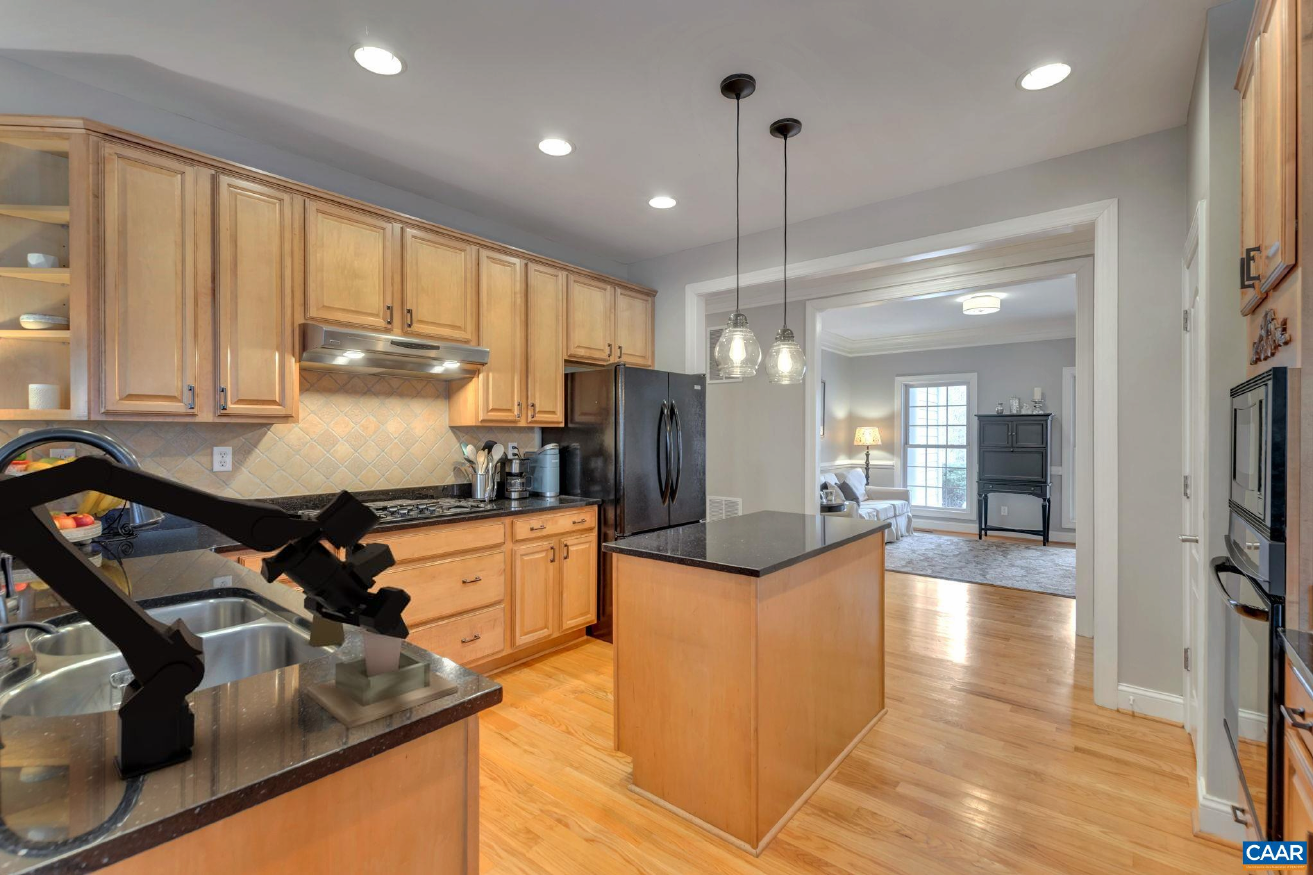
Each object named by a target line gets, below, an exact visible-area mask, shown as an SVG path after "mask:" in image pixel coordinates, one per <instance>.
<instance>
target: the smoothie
mask: <svg viewBox="0 0 1313 875" xmlns="http://www.w3.org/2000/svg"><path fill="white" fill-rule="evenodd" d="M403 620H404V623H405V624H406V619H403ZM366 630H367V629H365V628H364V627H362V626H360V627H359V634H360V635H361V636H362V643H363V652H364V657H365V660H366V668H367V675H368V678H370V677H373V676H377V675H380V674H384V673H387V672H391V671H394V670H398V665H399V658H400V650H401V648H402V641H403V639H400V638H395V637H390V636H385V635H379V634H375V633H371V632H368V631H366Z"/></svg>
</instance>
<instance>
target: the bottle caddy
mask: <svg viewBox="0 0 1313 875" xmlns="http://www.w3.org/2000/svg"><path fill="white" fill-rule="evenodd" d="M334 678H335V679H332V680H329V681H325V682H321V683H318V684H313V685H310V686H307V687H306V695H307V696H308V697H309V698H311V699H312V700H314V701H315V703H317V704H318V705H319V706H321V707H322V708H323V709H325V710H326V711H327V712H328V713H329V714H331V715H332V716H333V717H334V718H335V719H337V720H338V721H339V722H341V723H342V724H343V725H344V726H346V728H348V729H352V728H355V727H358V726H361V725H363V724H367V723H370V722H372V721H376V720H378V719H382V718H384V717H387V716H390V715H393V714H396V713H399V712H402V711H405V710H408V709H411V708H415V707H416V706H420V705H422V704H426V703H429V702H431V701H434V700H438V699H440V698H443V697H446V696H449V695H453V694H455V693H458V692H459V684H457V683H455V682H453V681H452V680H451V681H450V680H449V679H448V678H445V677H443V676H442V675H440V674H438V673H436V672H434V671H432V670H431V662H429V661H427V660H425V659H424V658H421V657H420V656H418V655H416V654H414V653H412V652H410V651H408V650H406V649H404V648H402V647H401V650H400V658H399V665H398V670H394V671H391V672H387V673H384V674H380V675H377V676H373V677H370V678H368V675H367V668H366V660H365V656H362V657H361V656H360V657H356V658H354V659H349V660H345V661H341V662H339V663H338V662H337V663H335V677H334Z"/></svg>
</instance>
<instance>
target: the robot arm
mask: <svg viewBox="0 0 1313 875" xmlns="http://www.w3.org/2000/svg"><path fill="white" fill-rule="evenodd" d="M87 491H89V492H90V491H92V492H96V493H99V494H103V495H106V496H110V497H112V498H113V497H114V498H115V499H120V500H124V501H127V502H129V503H132V504H136V505H138V506H139V505H140V506H143V507H146V508H150V509H152V510H155V511H158V512H162V513H165V514H169V515H172V516H175V517H179V518H182V519H186V520H188V521H191V522H195V523H199V524H201V525H203V526H204V525H205V526H206V527H208V528H210V529H212V530H214V531H217V532H218V533H220V534H222V535H223V536H225V537H227V538H229V539H230V540H232V541H235V542H236V543H238V544H241V545H243V546H244V547H246V548H249V549H250V550H253V551H255V552H257V553H258V552H259V553H271V552H274V551H277V550H279V551H278V552H276V553H275V554H273V555H272V556H267V557H262V558H261V559H260V560H261V569H260V570H259V571H260V573H259V574H260V575H261V576H262V578H263V579H264V580H265V582H267V583H268V584H273V583H274V582H275V581H276V580H277V579H279V577H281V576H282V575H285V576H286V577H287V578H289V579H290V580H291V581H293V583H295V584H296V585H297V586H298V587H300V588H301V589H303V590H302V592H301V593H302V594H303V595H305V597H304V598H303V609H304V610H306V611H307V612H309V613H310V614H311V615H316V616H320V617H322V618H324V619H328V620H331V621H335V622H340V623H343V625H350V626H354V627H358V628H360V626H362V627H364V628H365V629H367V630H366V631H368V632H371V633H375V634H379V635H385V636H390V637H395V638H400V639H402V640H406V639H407V638H408V636H409V635H410V630H409V629H408V627H407V625H406V622H405V623H404V620H405V619H404V618H403V617H402V613H403V612H404V610H405V609H406V608H407V606H408V605H409V604H410V602H411V601H412V596H411V595H410V594H409V593H408V592H406V591H405V590H404V589H403V588H399V587H394V586H389V585H387V586H382V587H380V588H379V589H378V590H377V592H371V591H369V590H370V589H372V588H373V587H374V586H375V585H376V583H377V581H376V580H375V579H374V578H375V577H377V576H379V575H380V574H382V573H383V572H385V571H386V570H387V569H388V568H392V567H394V566H395V565H396V564H397V561H396V559H395V556H394V555H393V553H392V552H393V551H392V550H391V548H390V546H389V544H386V543H381V542H367V543H365V544H363V543H361V542H360V541H361V540H362V539H363V538H364V537H365V536H366V535H367V534H369V532H371V531H372V530H373V529H374V528H375V527H376V526H377V525H378V524H380V523H381V521H382V520H381V518H380V517H379V516H378V515H377V513H375V511H373V510H372V509H371V508H370V507H369V506H368V505H366V504H364V503H362V502H361V501H360V500H359V499H357V498H356V497H355V496H354V495H352V494H351V493H350V492H349V491H348V490H346V489H341V490H340V491H339V492H338V493H337V494H336V495H335V496H334V497H333V498H332V500H331V501H330V502H328V503H327V504H326V505H325V506H324V507H322V509H320V511H318V512H317V513H316V514H315V515H313V516H312V515H309V514H306V513H302V514H301V513H298V514H297V513H290V512H289V513H288V512H286V511H285V510H284V509H283V508H281V507H280V506H278V505H276V504H273V503H267V502H262V501H256V500H249V499H243V498H236V497H228V496H223V495H218V494H215V493H212V492H208V491H206V490H203V489H199V488H197V487H193V486H190V485H188V484H184V483H182V482H181V483H180V482H179V481H175V480H171V479H169V478H166V477H163V476H161V475H158V474H155V473H152V472H148V471H145V470H143V469H139V468H135V467H133V466H130V465H127V464H124V463H120V462H118V461H115V460H114V459H112V458H111V457H109V456H107V455H105V454H98V453H97V454H86V455H82V456H80V457H77V458H76V459H74V460H72V461H68V462H65V463H60V464H58V465H54V466H51V467H47V468H43V469H39V470H36V471H33V472H29V473H24V474H21V475H18V476H17V475H16V474H10V473H9V474H7V473H0V552H1V553H3V554H6V555H8V556H11V557H12V558H15V559H16V560H18V561H19V562H20V563H22V564H23V565H24V567H26V568H27V569H28V570H30V571H31V572H32V573H33V574H34V575H35V576H36V577H37V578H38V579H40V581H42V582H43V583H44V584H46V585H47V586H48V587H49V588H50V589H51V590H52V591H53V592H55V593H56V595H58V597H60V598H61V599H62V600H64V601H65V602H66V603H67V604H68V605H69V606H71V607H72V608H73V609H74V610H75V611H76V612H77V613H78V614H80V615H81V616H82V617H83V618H84V619H85V620H87V622H88V623H90V624H91V625H92V626H93V627H94V628H95V629H97V630H98V632H99V633H101V634H102V635H103V636H104V637H106V638H107V639H108V640H109V641H110V642H111V643H113V645H114V646H116V648H117V649H118V650H119V651H120V654H121V655H122V657H123V659H124V661H125V663H126V664H127V666H128V668H129V670H130V672H131V674H132V675H133V676H134V677H133V679H131V680H130V682H128V683H127V684H126V685H125V688H124V691H123V694H122V698H121V701H120V705H119V708H118V711H117V733H116V735H117V736H116V738H117V739H116V740H117V742H116V743H117V745H116V747H117V750H116V755H114V756H113V761H114V762H113V763H114V764H115V766H116V769H117V772H118V774H119V777H120V779H121V780H122V779H128V778H132V777H136V776H139V775H141V774H144V773H148V772H151V771H154V770H157V769H160V768H163V767H167V766H171V765H173V764H177V763H180V762H183V761H187V760H189V759H191V758H193V752H192V749H191V748H193V747H194V746H195V713H194V711H193V710H192V709H191V707H190V702H189V701H188V700H187V699H186V697H187V696H189V695H190V694H192V693H193V692H194V691H195V690H196V689H198V688H199V687H200V685H201V683H202V681H203V680H204V677H205V672H206V659H205V658H206V657H205V655H206V653H205V650H204V638H203V637H202V636H200V635H197V634H195V633H194V632H192V631H191V630H190V629H189V628H188V626H187V624H186V622H185V621H184V620H183V619H182V618H181V617H178V618H177V619H176V620H174V622H173V623H171V625H168V624H166V623H164V622H161V621H160V620H157V619H156V618H154V617H152V616H151V615H150V614H148V612H146V611H145V610H144V609H143V607H141V606H140V605H139V604H138V603H137V602H136V601H135V600H134V599H133V598H131V596H129V595H128V594H127V593H126V592H125V591H124V589H121V587H119V585H118V584H116V583H115V582H114V581H113V580H112V579H111V578H110V577H109V576H108V575H107V574H105V572H104V571H102V569H100V568H99V566H97V565H96V564H95V563H94V562H93V561H92V560H90V559H89V558H88V556H86V555H85V554H84V553H83V552H82V551H81V550H79V548H77V546H76V545H75V544H73V543H72V542H71V541H70V540H69V539H68V538H67V537H66V536H65V535H63V533H62V532H61V531H60V530H61V529H59V527H58V525H57V522H56V521H55V519H54V518H53V516H52V513H51V512H50V510H49V509H48V507H47V506H46V504H49V503H51V502H54V501H58V500H61V499H65V498H67V497H71V496H74V495H77V494H80V493H83V492H87ZM297 539H298V540H297ZM322 539H325V541H327V543H329V544H330V545H332V547H333V548H334V549H336V550H337V551H339V550H341V549H344V554H345V555H344V559H345V560H341V559H340V558H339V557H338V556H337V555H336V554H335V553H333V552H332V551H331V550H330V549H329V548H328V547H326V546H325V545H324V544H323V543H322V542H321V541H320V540H322ZM294 540H296V541H294ZM292 541H294V542H292ZM322 610H324V611H325V612H323V611H322Z"/></svg>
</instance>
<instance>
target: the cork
mask: <svg viewBox="0 0 1313 875" xmlns="http://www.w3.org/2000/svg"><path fill="white" fill-rule="evenodd" d="M322 611H323V612H325V611H324V610H322ZM312 615H313V614H312ZM310 627H311V628H310V634H309V640H308V645H309V646H311V647H314V648H315V647H317V648H318V647H319V648H320V647H331V646H335V645H339V644H341V643H342V642H344V641H345V639H346V638H345V631H344V623H340V622H335V621H331V620H328V619H324V618H322V617H320V616H316V615H313V616H312V621H311V626H310Z"/></svg>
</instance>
